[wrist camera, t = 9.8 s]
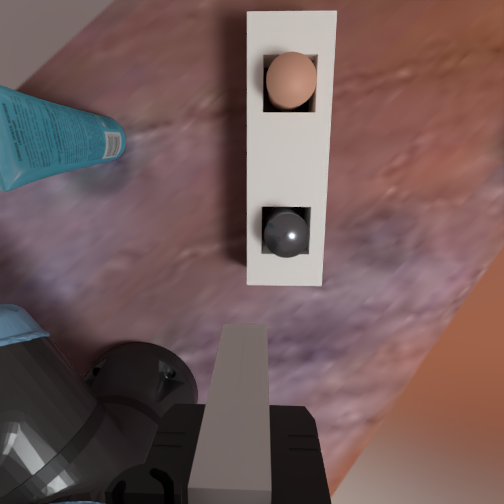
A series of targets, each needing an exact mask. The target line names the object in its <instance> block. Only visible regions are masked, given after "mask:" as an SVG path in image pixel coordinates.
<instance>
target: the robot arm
mask: <svg viewBox="0 0 504 504" xmlns="http://www.w3.org/2000/svg"><path fill="white" fill-rule="evenodd" d="M197 401H198V390H197V385H196V381H195V379H194V376H193V374H192V373H191V371H190V369H189V368H188V367H187V365H186V364H185V363H184V362H183V361H182V360H181V359H180V358H179V357H177V356H176V355H175V354H173V353H172V352H170V351H168V350H166V349H164V348H162V347H159V346H156V345H152V344H147V343H128V344H123V345H119V346H117V347H114V348H112V349H110V350H108V351H107V352H105V353H104V354H103V355H102V356H101V357H100V358H99V359H98V360H97V361H96V362H95V364H94V365H93V366H92V367H91V369H90V370H89V372H88V373H87V375H86V377H85V379H84V380H83V378H82V377H81V376H80V375H79V373H78V372H77V371H76V370H75V368H74V367H73V366H72V365H71V363H70V362H69V361H68V360H67V358H66V357H65V356H64V354H63V353H62V352H61V350H60V349H59V348H58V347H57V345H56V344H55V343H54V341H53V340H52V339H51V338H50V333H49V332H48V331H44V330H43V329H42V328H41V327H40V325H39V324H38V323H37V322H36V321H35V320H34V319H33V318H32V317H31V316H30V314H29V313H28V312H27V311H26V310H25V309H24V308H22V307H20V306H18V305H15V304H0V504H331V499H330V494H329V489H328V484H327V479H326V473H325V468H324V463H323V458H322V453H321V448H320V443H319V439H318V433H317V427H316V422H315V419H314V418H313V417H312V415H311V414H310V413H309V411H308V410H307V409H306V407H305V406H279V405H269V381H268V344H267V325H254V324H224V325H223V329H222V334H221V338H220V343H219V347H218V352H217V356H216V361H215V366H214V370H213V375H212V379H211V384H210V388H209V393H208V397H207V402H206V404H197Z"/></svg>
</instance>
